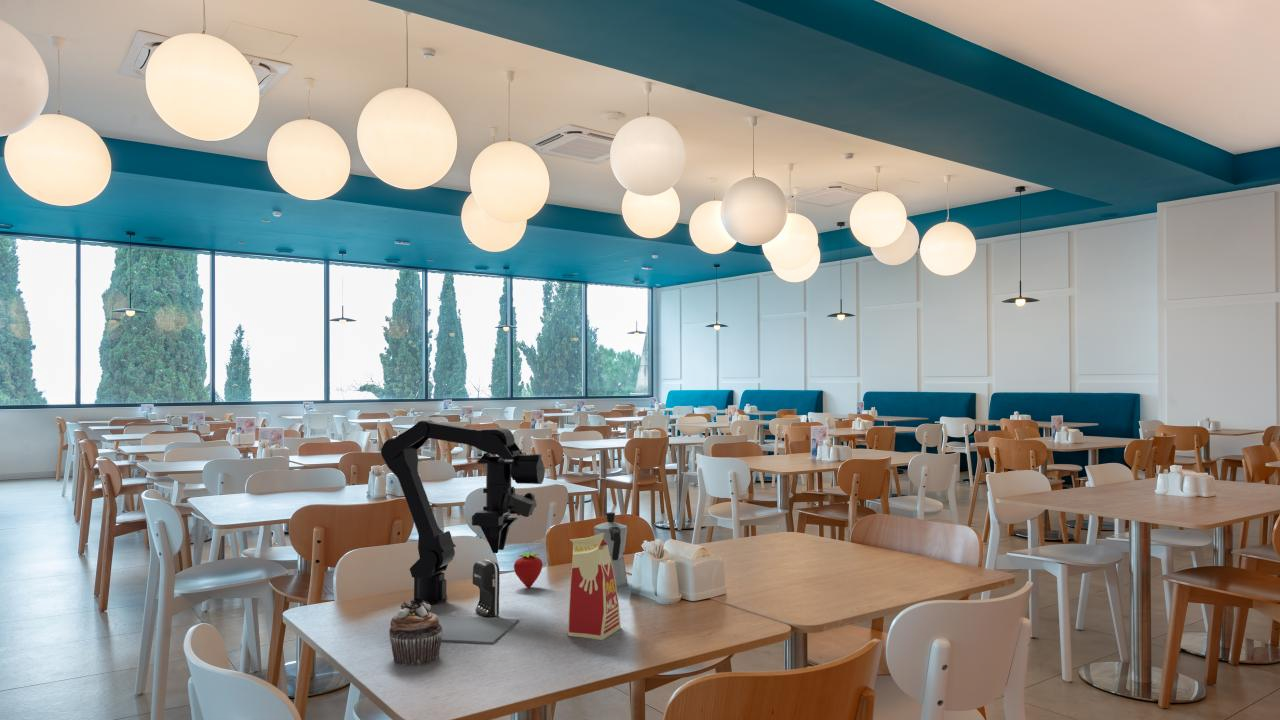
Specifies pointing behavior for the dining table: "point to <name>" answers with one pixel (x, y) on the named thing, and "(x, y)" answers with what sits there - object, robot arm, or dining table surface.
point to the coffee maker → (615, 546)
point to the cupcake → (415, 635)
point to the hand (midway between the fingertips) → (498, 551)
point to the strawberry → (528, 568)
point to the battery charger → (487, 587)
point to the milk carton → (592, 590)
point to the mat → (474, 629)
